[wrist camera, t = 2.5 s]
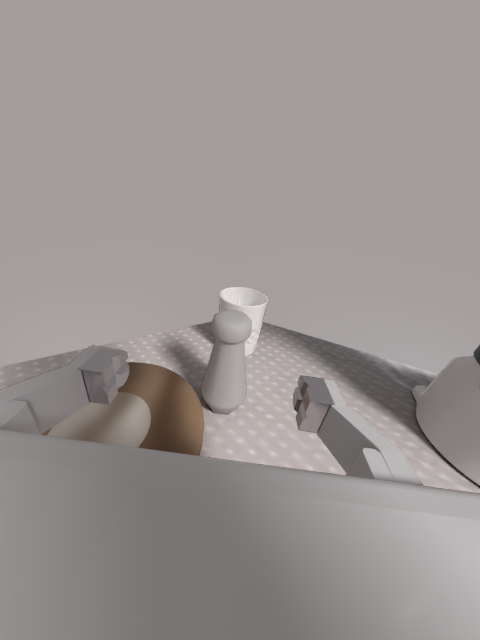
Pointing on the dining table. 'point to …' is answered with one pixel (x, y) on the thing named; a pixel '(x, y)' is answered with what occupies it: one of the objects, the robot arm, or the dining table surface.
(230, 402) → the salt shaker
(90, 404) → the turntable
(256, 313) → the white cup
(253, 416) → the dining table surface
